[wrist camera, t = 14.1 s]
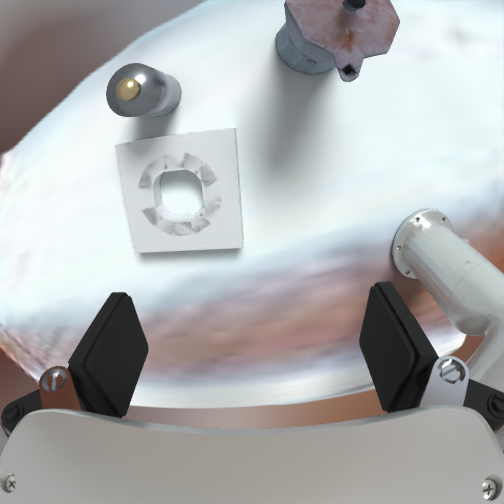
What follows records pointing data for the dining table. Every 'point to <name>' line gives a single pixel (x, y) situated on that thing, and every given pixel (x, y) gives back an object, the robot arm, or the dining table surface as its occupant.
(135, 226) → the housing
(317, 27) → the moka pot
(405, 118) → the dining table surface
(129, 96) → the end cover
